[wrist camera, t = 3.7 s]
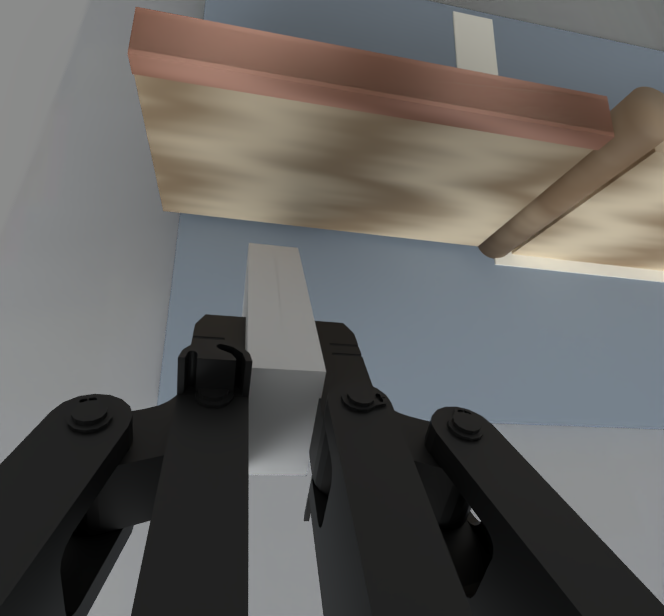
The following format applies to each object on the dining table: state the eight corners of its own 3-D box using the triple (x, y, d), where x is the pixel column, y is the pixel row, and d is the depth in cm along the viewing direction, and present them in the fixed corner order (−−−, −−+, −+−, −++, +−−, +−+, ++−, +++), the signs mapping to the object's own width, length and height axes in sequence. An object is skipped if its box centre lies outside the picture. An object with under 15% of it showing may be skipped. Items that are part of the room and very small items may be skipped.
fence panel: (475, 220, 23) (607, 96, 16) (477, 249, 23) (614, 136, 15) (167, 182, 21) (135, 6, 13) (163, 214, 20) (127, 53, 12)
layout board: (669, 67, 32) (684, 54, 31) (756, 432, 25) (779, 431, 24) (211, -29, 26) (211, -49, 25) (159, 411, 19) (156, 408, 18)
